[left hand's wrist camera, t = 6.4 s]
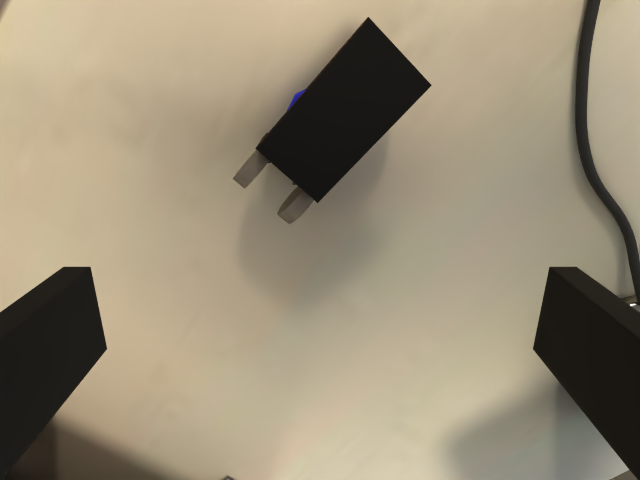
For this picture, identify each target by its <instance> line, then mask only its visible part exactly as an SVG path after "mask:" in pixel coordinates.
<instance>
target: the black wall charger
mask: <svg viewBox="0 0 640 480" xmlns="http://www.w3.org/2000/svg"><path fill="white" fill-rule="evenodd" d="M430 86H431V84H430V83H429V82H428V81H427V80H426V79H425V78H424V77H423V75H422V74H421V73H420V72H419V71H418V70H417V69H416V68H415V67H414V66H413V65H412V64H411V63H410V61H409V60H408V59H407V58H406V57H405V56H404V55H403V54H402V53H401V52H400V51H399V50H398V48H397V47H396V46H395V45H394V44H393V43H392V42H391V41H390V40H389V39H388V38H387V37H386V36H385V34H384V33H383V32H382V31H381V30H380V29H379V28H378V27H377V26H376V25H375V24H374V23H373V21H372V20H371V19H370V18H369V17H368V18H367V19H366V20H365V21H364V22H363V23H362V25H361V26H360V27H359V28H358V29H357V30H356V32H355V33H354V34H353V35H352V36H351V37H350V39H349V40H348V41H347V42H346V43H345V44H344V46H343V47H342V48H341V49H340V50H339V51H338V53H337V54H336V55H335V56H334V57H333V58H332V60H331V61H330V62H329V63H328V64H327V65H326V67H325V68H324V69H323V70H322V71H321V72H320V74H319V75H318V76H317V77H316V78H315V79H314V81H313V82H312V83H311V84H310V85H309V86H308V88H307V89H305V90H303V91H301V92H299V93H296V94H295V96H294V98H293V100H292V102H291V104H290V106H289V108H288V110H287V112H286V113H285V114H284V115H283V117H282V118H281V119H280V120H279V121H278V122H277V124H276V125H275V126H274V127H273V128H272V129H271V131H270V132H269V133H268V134H267V133H266V135H265V136H264V137H263V138H262V139H261V141H260V143H259V144H258V146H257V147H256V148H255V149H257V150H256V151H255V152H254V153H253V154H252V156H251V157H250V158H249V159H248V160H247V161H246V163H245V164H244V165H243V166H242V167H241V169H240V170H239V171H238V172H237V173H236V175H235V176H234V177H233V179H234V180H235V181H236V182H237V183H238V184H240V185H241V186H242V187H243V188H246V187H247V186H248V185H249V184H250V183H251V182H252V181H253V180H254V179H255V177H256V176H257V175H258V174H259V173H260V172H261V170H262V169H263V168H264V167H265V166H266V164H267V163H273V164H274V165H275V166H276V167H277V168H278V169H279V170H281V171H282V172H283V173H284V174H285V175H286V176H287V177H289V178H290V179H291V180H292V181H293V185H296V184H297V185H298V187H297V188H296V189H295V190H294V191H293V192H292V193H291V194H290V196H289V197H288V198H287V199H286V200H285V202H284V203H283V204H282V206H281V207H280V209H279V211H278V213H277V215H279V216H280V217H281V218H282V219H283V220H285V221H286V222H287V223H288V224H291V223H292V222H294V221H295V220H296V219H297V218H299V217H300V216H301V215H302V214H303V213H304V211H305V210H306V209H307V208H308V207H309V206H310V204H311V203H312V202H313V200H315V201H316V202H317V203H318V202H319V201H320V200H321V199H322V198H323V197H324V196H325V195H326V194H327V193H328V192H329V191H330V190H331V189H332V188H333V187H334V186H335V185H336V183H337V182H338V181H339V180H340V179H341V178H342V177H343V176H344V175H345V174H346V173H347V172H348V171H349V170H350V169H351V168H352V167H353V166H354V165H355V164H356V163H357V162H358V161H359V160H360V159H361V158H362V157H363V156H364V155H365V154H366V153H367V151H368V150H369V149H370V148H371V147H372V146H373V145H374V144H375V143H376V142H377V141H378V140H379V139H380V138H381V137H382V136H383V135H384V134H385V133H386V132H387V131H388V130H389V129H390V128H391V127H392V126H393V125H394V124H395V123H396V122H397V121H398V120H399V118H400V117H401V116H402V115H403V114H404V113H405V112H406V111H407V110H408V109H409V108H410V107H411V106H412V105H413V104H414V103H415V102H416V101H417V100H418V99H419V98H420V97H421V96H422V95H423V94H424V93H425V92H426V91H427V90H428V89H429V88H430Z"/></svg>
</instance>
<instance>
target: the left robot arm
mask: <svg viewBox="0 0 640 480" xmlns="http://www.w3.org/2000/svg"><path fill="white" fill-rule="evenodd" d="M599 5H600V0H588V4H587V9H586V14H585V18H584V23H583V29H582V34H581V40H580V47H579V54H578V64H577V80H576V103H575V123H576V136H577V143H578V148H579V153H580V158H581V161H582V165H583V168H584V171H585V174H586V176H587V178H588V180H589V182H590V184H591V186H592V187H593V189H594V191H595V192H596V193H597V195H598V196H599V197H600V199H601V200H602V201H603V203H604V204H605V205H606V207H607V208H608V209H609V210H610V212H611V213H612V215H613V216H614V218H615V220H616V221H617V223H618V225H619V227H620V229H621V232H622V234H623V237H624V240H625V244H626V248H627V254H628V260H629V265H630V271H631V275H632V280H633V285H634V289H635V294H636V295H634V296H631V297H628V298H625V299H620V298H619V297H618V296H616V295H615V294H613V293H612V292H611V291H609V290H608V289H606V288H605V287H604V286H602V285H601V284H599V283H598V282H597V281H595V280H594V279H593V278H591V277H590V276H588V275H587V274H586V273H584V272H583V271H581V270H580V269H579V268H577V267H549V272H548V277H547V282H546V287H545V292H544V297H543V302H542V307H541V312H540V317H539V322H538V327H537V332H536V337H535V342H534V346H533V350H534V351H535V352H536V353H537V355H538V356H539V357H540V358H541V360H542V361H543V362H544V363H545V365H546V366H547V367H548V368H549V370H550V371H551V372H552V373H553V375H554V376H555V377H556V378H557V380H558V381H559V382H560V383H561V385H562V386H563V387H564V388H565V390H566V391H567V392H568V393H569V395H570V396H571V397H572V398H573V400H574V401H575V402H576V403H577V405H578V406H579V407H580V408H581V410H582V411H583V412H584V413H585V415H586V416H587V417H588V418H589V420H590V421H591V422H592V423H593V425H594V426H595V427H596V428H597V430H598V431H599V432H600V433H601V435H602V436H603V437H604V438H605V440H606V441H607V442H608V443H609V445H610V446H611V447H612V448H613V450H614V451H615V452H616V453H617V455H618V456H619V457H620V458H621V460H622V461H623V462H624V463H625V465H626V466H627V467H628V468H629V470H628V471H626V472H624V473H622V474H620V475H618V476H616V477H614V478H612V479H610V480H640V260H639V254H638V248H637V243H636V239H635V236H634V233H633V230H632V228H631V226H630V223H629V222H628V220H627V218H626V216H625V214H624V213H623V211H622V210H621V208H620V207H619V206H618V204H617V203H616V202H615V200H614V199H613V198H612V196H611V195H610V194H609V192H608V191H607V190H606V188H605V187H604V185H603V183H602V182H601V180H600V178H599V176H598V174H597V171H596V169H595V166H594V163H593V159H592V155H591V151H590V145H589V139H588V130H587V93H588V76H589V62H590V53H591V46H592V40H593V34H594V29H595V24H596V19H597V14H598V10H599ZM106 350H107V346H106V342H105V337H104V332H103V327H102V322H101V317H100V312H99V307H98V302H97V297H96V292H95V287H94V282H93V277H92V272H91V267H63V268H61V269H60V270H59V271H57V272H56V273H54V274H53V275H52V276H50V277H49V278H47V279H46V280H45V281H43V282H42V283H41V284H39V285H38V286H36V287H35V288H34V289H32V290H31V291H29V292H28V293H27V294H25V295H24V296H22V297H21V298H20V299H18V300H17V301H15V302H14V303H13V304H11V305H10V306H9V307H7V308H6V309H4V310H3V311H2V312H0V480H3V478H4V477H5V476H6V475H7V473H8V472H9V471H10V470H11V468H12V467H13V466H14V465H15V463H16V462H17V461H18V460H19V458H20V457H21V456H22V455H23V453H24V452H25V451H26V450H27V448H28V447H29V446H30V445H31V443H32V442H33V441H34V440H35V438H36V437H37V436H38V435H39V433H40V432H41V431H42V430H43V428H44V427H45V426H46V425H47V423H48V422H49V421H50V420H51V418H52V417H53V416H54V415H55V413H56V412H57V411H58V410H59V408H60V407H61V406H62V405H63V403H64V402H65V401H66V400H67V398H68V397H69V396H70V395H71V393H72V392H73V391H74V390H75V388H76V387H77V386H78V385H79V383H80V382H81V381H82V380H83V378H84V377H85V376H86V375H87V373H88V372H89V371H90V370H91V368H92V367H93V366H94V365H95V363H96V362H97V361H98V360H99V358H100V357H101V356H102V355H103V353H104V352H105V351H106Z"/></svg>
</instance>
